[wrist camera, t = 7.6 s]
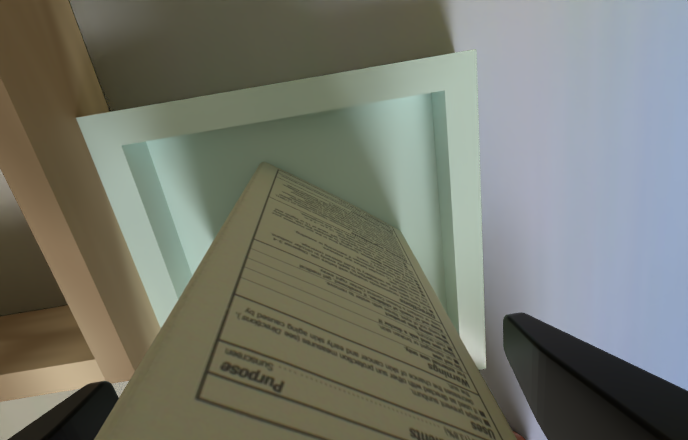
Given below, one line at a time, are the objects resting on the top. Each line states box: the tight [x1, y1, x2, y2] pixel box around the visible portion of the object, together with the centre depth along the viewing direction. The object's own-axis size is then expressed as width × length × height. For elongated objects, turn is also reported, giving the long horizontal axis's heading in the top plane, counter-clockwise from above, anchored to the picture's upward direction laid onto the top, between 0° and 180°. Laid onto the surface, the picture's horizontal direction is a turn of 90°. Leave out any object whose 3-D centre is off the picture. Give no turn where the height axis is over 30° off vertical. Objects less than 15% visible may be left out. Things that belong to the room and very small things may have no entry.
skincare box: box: [94, 162, 517, 440], centre depth 9 cm, size 6×4×12 cm
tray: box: [76, 49, 486, 370], centre depth 14 cm, size 12×12×2 cm
